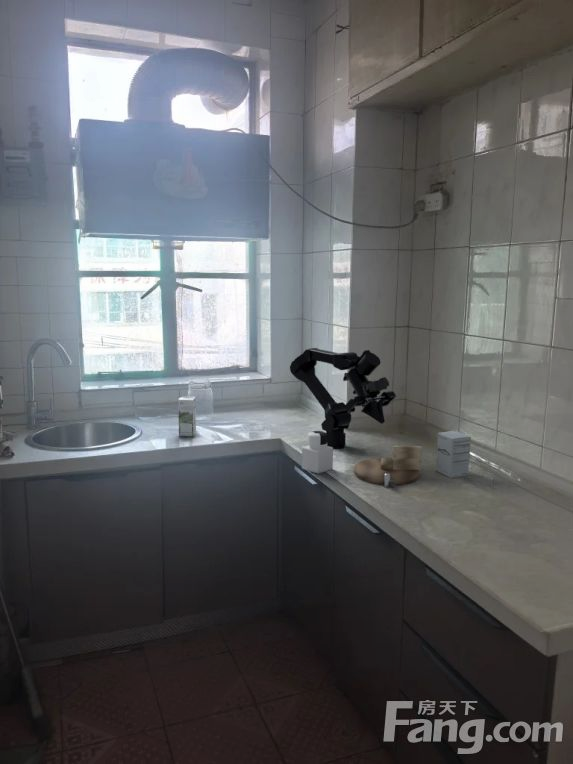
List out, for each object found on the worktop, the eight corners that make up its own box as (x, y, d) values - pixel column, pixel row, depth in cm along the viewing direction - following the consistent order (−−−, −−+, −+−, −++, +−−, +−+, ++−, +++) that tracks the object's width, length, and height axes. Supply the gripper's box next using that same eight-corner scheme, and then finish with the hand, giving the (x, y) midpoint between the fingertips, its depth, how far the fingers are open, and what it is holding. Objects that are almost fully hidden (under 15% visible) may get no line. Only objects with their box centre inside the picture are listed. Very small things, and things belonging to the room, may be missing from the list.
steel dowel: (384, 487, 177) (384, 474, 176) (384, 485, 178) (384, 472, 178) (389, 488, 177) (390, 474, 176) (389, 486, 178) (390, 473, 178)
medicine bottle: (316, 463, 198) (317, 428, 196) (333, 469, 193) (334, 432, 191) (301, 468, 193) (301, 432, 191) (317, 474, 188) (318, 436, 186)
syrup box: (196, 433, 233) (195, 396, 230) (193, 437, 227) (192, 399, 224) (181, 432, 233) (180, 395, 230) (178, 437, 227) (177, 399, 225)
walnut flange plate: (357, 486, 177) (358, 457, 176) (351, 462, 198) (352, 436, 197) (428, 487, 177) (429, 458, 175) (414, 463, 198) (415, 437, 196)
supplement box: (434, 470, 192) (437, 432, 190) (453, 468, 195) (456, 430, 193) (449, 478, 185) (452, 438, 183) (469, 475, 188) (471, 436, 186)
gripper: (352, 372, 193) (375, 413, 186) (393, 367, 204) (416, 405, 197) (335, 392, 200) (357, 432, 194) (375, 386, 211) (397, 423, 205)
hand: (383, 422), depth 197 cm, fingers closed
